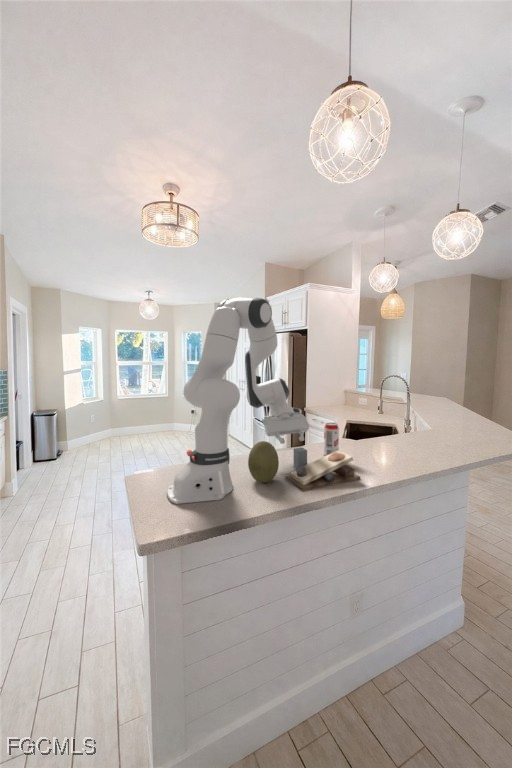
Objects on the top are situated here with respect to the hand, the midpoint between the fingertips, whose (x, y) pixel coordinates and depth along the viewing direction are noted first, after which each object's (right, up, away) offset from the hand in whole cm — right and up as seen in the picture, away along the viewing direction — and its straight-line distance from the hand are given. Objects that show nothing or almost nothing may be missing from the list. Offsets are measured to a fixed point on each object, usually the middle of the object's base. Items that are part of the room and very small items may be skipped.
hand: (292, 441), depth 135 cm
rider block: (+2, -10, -5) cm, 11 cm away
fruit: (-13, -12, -18) cm, 25 cm away
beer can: (+18, -9, +6) cm, 21 cm away
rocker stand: (+9, -11, -16) cm, 22 cm away
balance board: (+9, -7, -17) cm, 20 cm away
